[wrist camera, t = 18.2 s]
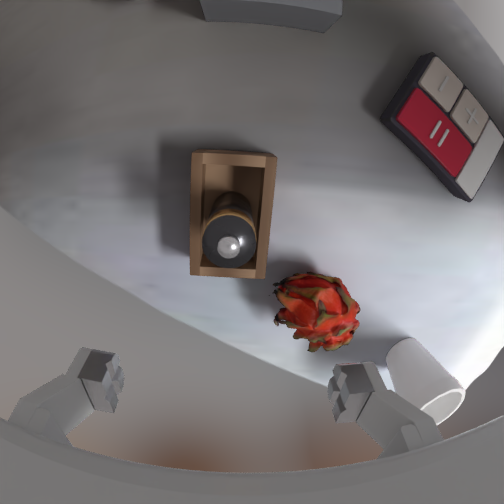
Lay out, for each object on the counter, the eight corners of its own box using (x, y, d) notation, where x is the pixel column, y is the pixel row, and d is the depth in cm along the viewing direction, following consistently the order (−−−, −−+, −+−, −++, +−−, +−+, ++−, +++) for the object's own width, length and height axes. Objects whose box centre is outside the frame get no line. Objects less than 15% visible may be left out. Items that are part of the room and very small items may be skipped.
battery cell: (253, 192, 30) (260, 222, 21) (250, 230, 31) (255, 275, 22) (212, 189, 29) (200, 218, 20) (210, 228, 31) (199, 272, 22)
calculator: (435, 49, 21) (509, 139, 24) (417, 55, 25) (489, 136, 28) (391, 119, 25) (473, 206, 28) (375, 120, 29) (454, 197, 32)
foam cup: (431, 322, 40) (473, 378, 28) (423, 362, 43) (455, 416, 31) (378, 340, 40) (413, 406, 28) (374, 379, 44) (401, 440, 32)
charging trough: (272, 153, 29) (277, 157, 26) (261, 261, 34) (264, 279, 30) (197, 149, 29) (191, 152, 25) (195, 258, 33) (190, 275, 30)
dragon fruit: (339, 315, 40) (272, 263, 38) (386, 296, 33) (313, 232, 31) (320, 369, 34) (242, 318, 33) (371, 359, 28) (284, 296, 26)
